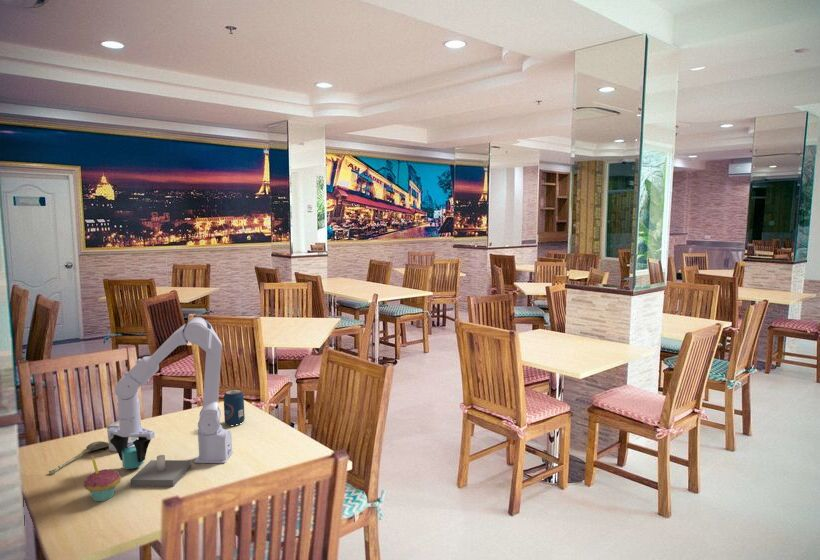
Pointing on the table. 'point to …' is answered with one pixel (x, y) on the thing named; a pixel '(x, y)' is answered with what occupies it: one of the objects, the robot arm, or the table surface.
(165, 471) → the stud stand
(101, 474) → the cupcake
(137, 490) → the table surface
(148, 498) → the table surface
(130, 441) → the medicine box
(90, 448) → the soupspoon
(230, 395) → the soda can
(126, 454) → the cap
